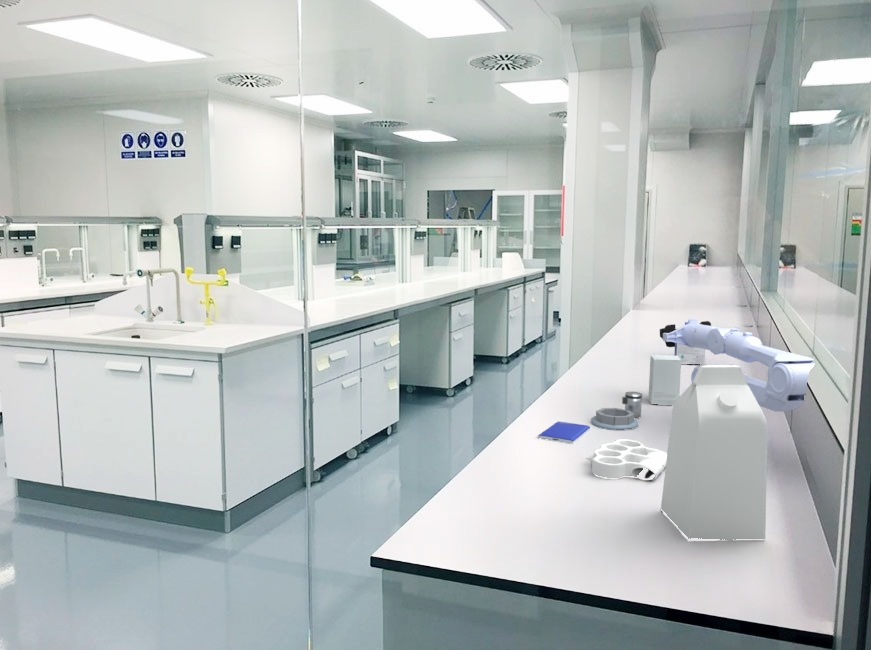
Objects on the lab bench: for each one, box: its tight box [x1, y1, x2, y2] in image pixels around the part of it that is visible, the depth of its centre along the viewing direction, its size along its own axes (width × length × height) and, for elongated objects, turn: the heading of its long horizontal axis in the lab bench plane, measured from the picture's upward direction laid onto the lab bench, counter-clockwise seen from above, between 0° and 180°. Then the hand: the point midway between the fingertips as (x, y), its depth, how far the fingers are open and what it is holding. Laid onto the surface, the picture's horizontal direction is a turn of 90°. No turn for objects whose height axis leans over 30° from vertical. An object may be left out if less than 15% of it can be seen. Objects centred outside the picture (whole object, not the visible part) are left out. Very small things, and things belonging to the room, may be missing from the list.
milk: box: [660, 364, 768, 540], centre depth 110 cm, size 12×12×26 cm
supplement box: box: [647, 354, 682, 407], centre depth 190 cm, size 7×7×13 cm
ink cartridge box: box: [673, 321, 706, 366], centre depth 245 cm, size 10×6×14 cm, turn 81°
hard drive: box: [537, 421, 591, 445], centre depth 161 cm, size 2×8×12 cm
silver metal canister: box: [621, 391, 643, 419], centre depth 176 cm, size 4×5×6 cm
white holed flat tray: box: [586, 438, 667, 481], centre depth 139 cm, size 3×18×15 cm
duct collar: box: [591, 407, 639, 431], centre depth 170 cm, size 11×11×3 cm
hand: (674, 331), depth 181 cm, fingers open, 7 cm apart
